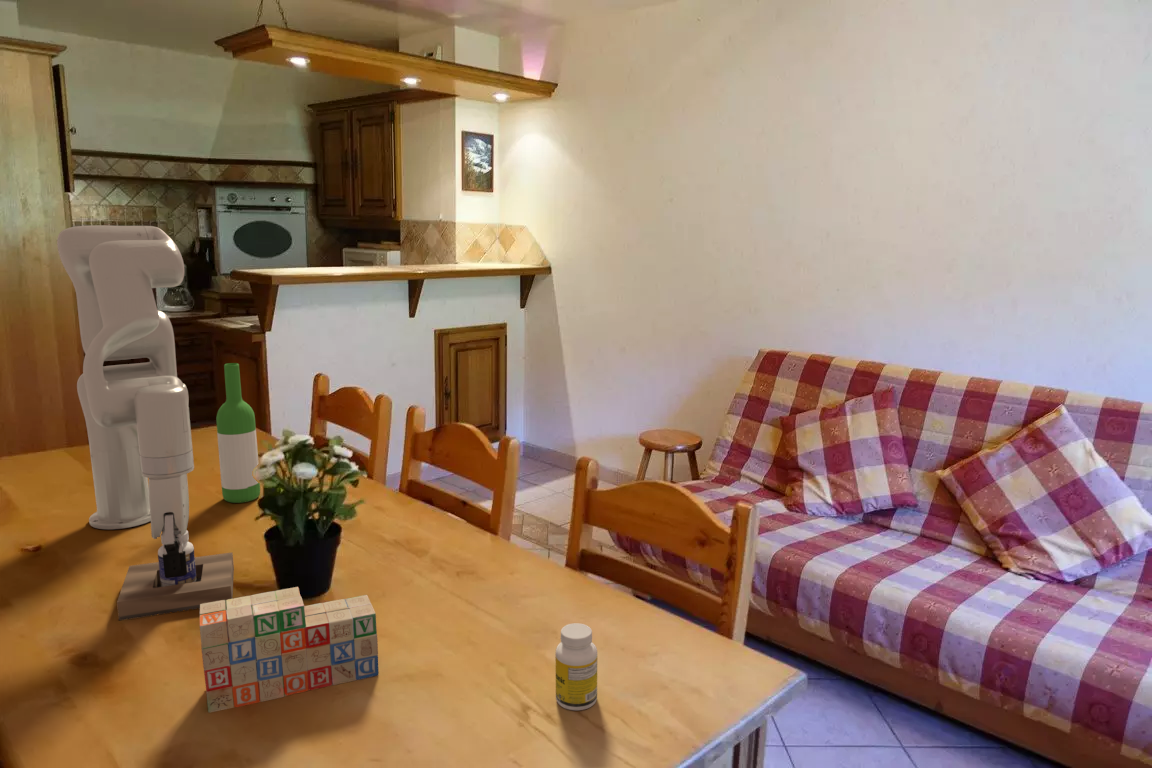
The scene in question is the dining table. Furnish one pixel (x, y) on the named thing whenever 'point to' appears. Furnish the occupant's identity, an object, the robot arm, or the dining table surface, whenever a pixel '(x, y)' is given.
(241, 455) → the wine bottle
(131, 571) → the holder block
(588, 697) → the supplement bottle
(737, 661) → the dining table surface
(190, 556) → the pill bottle
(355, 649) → the stack of blocks
